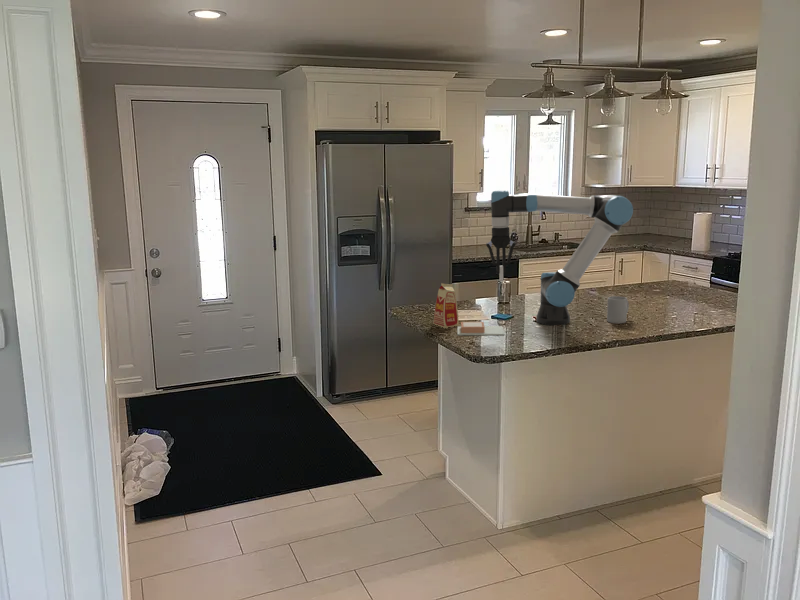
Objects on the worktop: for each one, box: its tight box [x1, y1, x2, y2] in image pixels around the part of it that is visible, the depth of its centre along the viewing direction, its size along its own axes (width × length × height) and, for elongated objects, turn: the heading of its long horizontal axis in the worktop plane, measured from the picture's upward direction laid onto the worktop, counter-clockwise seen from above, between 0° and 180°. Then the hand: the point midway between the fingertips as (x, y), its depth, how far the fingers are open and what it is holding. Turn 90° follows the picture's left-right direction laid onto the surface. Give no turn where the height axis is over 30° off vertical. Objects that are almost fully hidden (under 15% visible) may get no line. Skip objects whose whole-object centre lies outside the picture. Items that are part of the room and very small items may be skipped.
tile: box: [460, 321, 485, 333], centre depth 298 cm, size 2×10×10 cm
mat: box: [456, 325, 505, 336], centre depth 299 cm, size 20×14×1 cm
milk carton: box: [432, 282, 460, 329], centre depth 310 cm, size 9×9×20 cm
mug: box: [606, 295, 630, 324], centre depth 311 cm, size 12×8×11 cm
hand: (501, 280), depth 298 cm, fingers closed
